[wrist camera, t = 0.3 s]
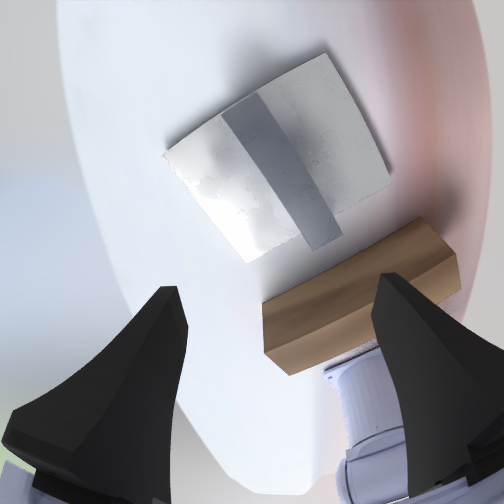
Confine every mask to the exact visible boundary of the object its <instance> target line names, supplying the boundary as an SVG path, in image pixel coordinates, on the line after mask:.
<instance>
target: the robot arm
mask: <svg viewBox="0 0 504 504" xmlns="http://www.w3.org/2000/svg"><path fill="white" fill-rule="evenodd" d="M371 318H372V323H373V327H374V331H375V334H376V338H377V341H378V344H379V346H380V347H378V348H376V349H374V350H372V351H370V352H368V353H366V354H364V355H361V356H359V357H357V358H355V359H353V360H350V361H348V362H346V363H343V364H341V365H339V366H336V367H334V368H332V369H329V370H327V371H325V372H324V373H323V375H324V377H325V379H326V380H327V381H328V382H329V383H330V384H331V385H332V386H333V387H334V388H335V389H336V390H337V391H338V392H339V396H340V401H341V406H342V410H343V415H344V420H345V426H346V431H347V436H348V441H349V447H350V449H348V450H346V457H347V458H345V459H342V460H341V462H340V464H339V466H338V467H337V471H336V485H337V491H338V495H339V499H340V501H341V504H386V503H390V502H393V501H396V500H399V499H402V498H405V497H407V496H409V498H407V499H404V500H402V501H399V502H396V503H393V504H504V350H502V349H500V348H499V347H497V346H495V345H493V344H491V343H489V342H488V341H486V340H484V339H483V338H481V337H480V336H478V335H476V334H475V333H473V332H472V331H470V330H469V329H467V328H466V327H465V326H463V325H462V324H460V323H459V322H458V321H456V320H455V319H454V318H452V317H451V316H450V315H448V314H447V313H446V312H444V311H443V310H442V309H441V308H439V307H438V306H437V305H436V304H434V303H433V302H432V301H431V300H430V299H428V298H427V297H426V296H425V295H423V294H422V293H421V292H420V291H419V290H417V289H416V288H415V287H414V286H413V285H411V284H410V283H409V282H408V281H406V280H405V279H404V278H403V277H401V276H400V275H399V274H397V273H396V272H393V273H381V274H380V279H379V283H378V287H377V292H376V296H375V300H374V304H373V308H372V312H371ZM187 337H188V324H187V320H186V317H185V314H184V310H183V307H182V303H181V300H180V296H179V292H178V289H177V286H161V287H160V288H159V289H158V290H157V291H156V292H155V293H154V294H153V296H152V297H151V298H150V299H149V300H148V301H147V303H146V304H145V305H144V306H143V307H142V308H141V309H140V311H139V312H138V313H137V314H136V315H135V316H134V317H133V319H132V320H131V321H130V322H129V323H128V324H127V325H126V327H125V328H124V329H123V330H122V331H121V332H120V333H119V334H118V335H117V336H116V337H115V338H114V339H113V340H112V341H111V342H110V343H109V344H108V345H107V346H106V347H105V348H104V349H103V350H102V351H101V352H100V353H99V354H98V355H97V356H96V357H94V358H93V359H92V360H91V361H90V362H89V363H87V364H86V365H85V366H84V367H83V368H81V369H80V370H79V371H77V372H76V373H75V374H73V375H72V376H71V377H69V378H68V379H67V380H65V381H64V382H63V383H61V384H60V385H58V386H57V387H55V388H54V389H52V390H50V391H49V392H48V393H46V394H44V395H42V396H41V397H39V398H37V399H35V400H33V401H32V402H29V403H27V404H25V405H23V406H21V407H20V408H17V409H15V410H13V412H12V415H11V417H10V419H9V422H8V424H7V427H6V430H5V432H4V435H3V438H2V441H1V442H2V444H3V445H4V447H6V448H7V449H8V450H9V451H10V452H12V453H13V454H15V455H16V456H17V457H19V458H21V459H22V460H23V461H25V462H26V463H28V464H29V465H31V466H32V467H34V468H36V472H35V475H33V474H32V473H30V472H28V471H26V470H24V469H22V468H20V467H19V466H17V465H15V464H13V463H11V462H9V461H5V464H4V467H3V471H2V474H1V477H0V504H171V491H170V445H171V430H172V418H173V409H174V403H175V399H176V394H177V389H178V385H179V380H180V376H181V372H182V367H183V363H184V358H185V354H186V346H187Z"/></svg>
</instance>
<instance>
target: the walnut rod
mask: <svg viewBox="0 0 504 504" xmlns="http://www.w3.org/2000/svg"><path fill="white" fill-rule="evenodd" d="M393 272H396V273H397V274H399V275H400V276H401V277H403V278H404V279H405V280H406V281H408V282H409V283H410V284H411V285H413V286H414V287H415V288H416V289H417V290H419V291H420V292H421V293H422V294H423V295H425V296H426V297H427V298H428V299H430V300H431V301H432V302H433V303H434V304H438V303H440V302H441V301H443V300H445V299H446V298H448V297H449V296H451V295H453V294H454V293H456V292H457V291H459V290H460V289H461V283H460V276H459V270H458V264H457V258H456V253H455V252H454V251H453V250H452V249H451V248H450V247H449V245H448V244H447V243H446V242H445V241H444V240H443V239H442V238H441V237H440V236H439V235H438V234H437V233H436V231H435V230H434V229H433V228H432V227H431V226H430V225H429V224H428V223H427V222H426V221H425V220H424V219H423V218H422V217H419V218H418V219H416V220H414V221H413V222H411V223H409V224H408V225H406V226H404V227H403V228H401V229H399V230H398V231H396V232H394V233H392V234H391V235H389V236H387V237H386V238H384V239H382V240H380V241H379V242H377V243H375V244H373V245H372V246H370V247H368V248H366V249H364V250H363V251H361V252H359V253H357V254H356V255H354V256H352V257H350V258H348V259H347V260H345V261H343V262H341V263H339V264H337V265H336V266H334V267H332V268H330V269H328V270H326V271H324V272H323V273H321V274H319V275H317V276H315V277H313V278H311V279H309V280H308V281H306V282H304V283H302V284H300V285H298V286H296V287H294V288H292V289H290V290H288V291H286V292H284V293H282V294H281V295H279V296H277V297H275V298H273V299H271V300H269V301H267V302H265V303H263V304H262V316H263V339H264V354H265V355H266V356H268V357H269V358H270V359H271V360H272V361H273V362H274V363H275V364H276V365H278V366H279V367H280V368H281V369H282V370H283V371H284V372H286V373H287V374H288V375H289V376H290V375H293V374H296V373H298V372H301V371H303V370H306V369H308V368H311V367H313V366H315V365H318V364H320V363H323V362H325V361H327V360H330V359H332V358H334V357H336V356H339V355H341V354H343V353H345V352H347V351H350V350H352V349H354V348H356V347H358V346H360V345H362V344H364V343H366V342H368V341H370V340H372V339H374V338H376V334H375V331H374V327H373V323H372V318H371V312H372V308H373V304H374V300H375V296H376V292H377V287H378V283H379V279H380V274H381V273H393Z"/></svg>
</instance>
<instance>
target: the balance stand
mask: <svg viewBox="0 0 504 504" xmlns="http://www.w3.org/2000/svg"><path fill="white" fill-rule="evenodd" d="M162 157H163V158H164V159H165V161H166V162H167V163H168V164H169V166H170V167H171V168H172V170H173V171H174V172H175V173H176V175H177V176H178V177H179V178H180V180H181V181H182V182H183V183H184V185H185V186H186V187H187V188H188V190H189V191H190V192H191V194H192V195H193V196H194V197H195V199H196V200H197V201H198V202H199V204H200V205H201V206H202V207H203V209H204V210H205V211H206V212H207V214H208V215H209V216H210V217H211V219H212V220H213V221H214V222H215V224H216V225H217V226H218V227H219V229H220V230H221V231H222V232H223V234H224V235H225V236H226V237H227V239H228V240H229V241H230V242H231V244H232V245H233V246H234V247H235V249H236V250H237V251H238V252H239V254H240V255H241V256H242V257H243V258H244V260H245V261H246V262H247V263H248V262H250V261H252V260H254V259H256V258H257V257H259V256H261V255H263V254H265V253H267V252H268V251H270V250H272V249H274V248H276V247H278V246H279V245H281V244H283V243H285V242H287V241H289V240H290V239H292V238H294V237H296V236H298V235H299V234H301V233H302V235H303V237H304V238H305V240H306V241H307V243H308V244H309V246H310V248H311V249H312V251H314V250H316V249H317V248H319V247H321V246H323V245H325V244H327V243H329V242H330V241H332V240H334V239H336V238H338V237H340V236H341V235H343V233H342V231H341V229H340V228H339V226H338V224H337V222H336V220H335V218H334V215H336V214H338V213H339V212H341V211H343V210H345V209H347V208H348V207H350V206H352V205H354V204H356V203H357V202H359V201H361V200H363V199H365V198H366V197H368V196H370V195H372V194H374V193H375V192H377V191H379V190H381V189H383V188H384V187H386V186H388V185H390V184H392V181H391V178H390V176H389V173H388V171H387V168H386V166H385V164H384V161H383V159H382V157H381V155H380V152H379V150H378V148H377V146H376V144H375V141H374V139H373V137H372V135H371V133H370V131H369V129H368V127H367V125H366V123H365V121H364V119H363V117H362V115H361V113H360V111H359V109H358V107H357V105H356V104H355V102H354V100H353V98H352V96H351V94H350V92H349V91H348V89H347V87H346V85H345V84H344V82H343V80H342V78H341V77H340V75H339V73H338V72H337V70H336V68H335V67H334V65H333V63H332V62H331V60H330V59H329V57H328V55H327V54H326V53H324V54H321V55H319V56H317V57H315V58H313V59H311V60H309V61H307V62H305V63H304V64H302V65H300V66H298V67H296V68H294V69H292V70H290V71H288V72H287V73H285V74H283V75H281V76H279V77H278V78H276V79H274V80H272V81H271V82H269V83H267V84H265V85H264V86H262V87H260V88H259V89H257V90H255V91H254V92H252V93H250V94H249V95H247V96H245V97H244V98H242V99H241V100H239V101H237V102H236V103H234V104H233V105H231V106H230V107H228V108H227V109H225V110H224V111H222V112H221V113H219V114H218V115H216V116H215V117H213V118H212V119H210V120H209V121H207V122H206V123H204V124H203V125H201V126H200V127H199V128H197V129H196V130H194V131H193V132H192V133H190V134H189V135H188V136H186V137H185V138H183V139H182V140H181V141H179V142H178V143H177V144H175V145H174V146H173V147H171V148H170V149H169V150H167V151H166V152H165V153H164V154H163V155H162Z"/></svg>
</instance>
